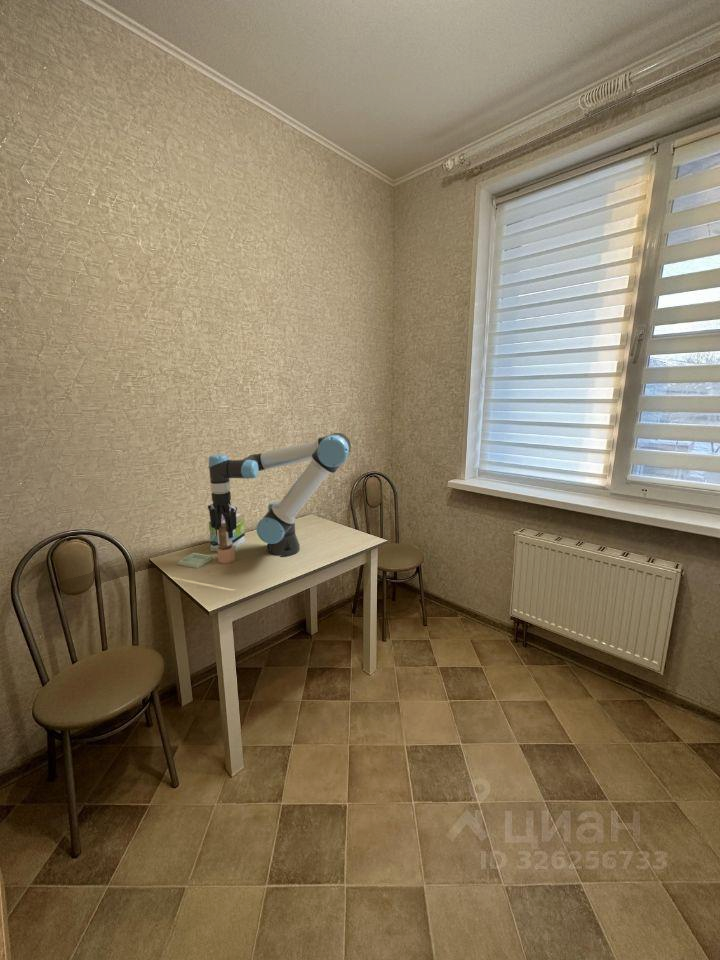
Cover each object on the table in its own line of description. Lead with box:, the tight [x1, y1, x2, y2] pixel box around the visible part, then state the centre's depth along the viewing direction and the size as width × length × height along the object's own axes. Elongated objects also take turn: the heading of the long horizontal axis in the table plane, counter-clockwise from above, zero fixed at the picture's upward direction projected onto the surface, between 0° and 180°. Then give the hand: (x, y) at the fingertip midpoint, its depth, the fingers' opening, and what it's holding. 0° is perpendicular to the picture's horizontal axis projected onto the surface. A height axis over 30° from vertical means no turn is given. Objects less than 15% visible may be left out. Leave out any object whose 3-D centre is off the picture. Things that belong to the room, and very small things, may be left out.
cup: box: [216, 545, 236, 564], centre depth 166 cm, size 7×7×6 cm
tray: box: [177, 552, 213, 569], centre depth 164 cm, size 10×9×2 cm
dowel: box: [219, 526, 230, 550], centre depth 164 cm, size 4×4×15 cm
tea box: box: [208, 513, 246, 552], centre depth 181 cm, size 15×10×15 cm, turn 168°
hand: (225, 543), depth 165 cm, fingers closed on dowel, 4 cm apart
